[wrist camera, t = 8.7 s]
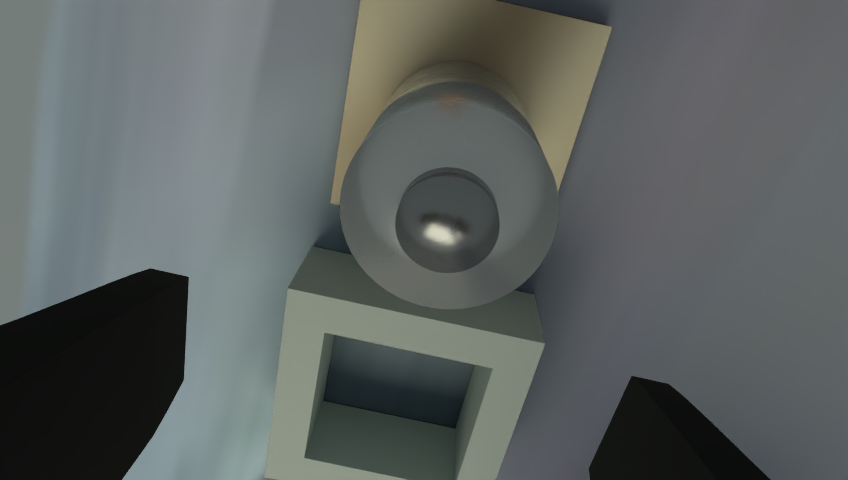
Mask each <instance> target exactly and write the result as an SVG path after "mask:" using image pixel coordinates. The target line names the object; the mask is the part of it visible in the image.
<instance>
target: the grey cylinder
mask: <svg viewBox="0 0 848 480" xmlns="http://www.w3.org/2000/svg"><path fill="white" fill-rule="evenodd" d="M339 204H340V219H341V225H342V230H343V233H344V236H345V239H346V242H347V244H348V246H349V249H350V251H351V253H352V255H353V256H354V258H355V259H356V261H357V262H358V264H359V265H360V266H361V268H362V269H363V270H364V271H365V272H366V274H367V275H368V276H369V277H371V278H372V279H373V280H374V281H375V282H376V283H377V284H378V285H380V286H381V287H383V288H384V289H385V290H387V291H388V292H390V293H392V294H393V295H395V296H397V297H399V298H401V299H404V300H406V301H408V302H411V303H414V304H417V305H421V306H425V307H431V308H436V309H464V308H470V307H476V306H479V305H483V304H486V303H490V302H492V301H494V300H497V299H499V298H501V297H503V296H505V295H507V294H509V293H510V292H512V291H514V290H515V289H516V288H518V287H519V286H520V285H522V284H523V283H524V282H525V281H526V280H527V279H528V278H529V277H530V276H531V275H533V273H534V272H535V271H536V270H537V269H538V267H539V266H540V265H541V264H542V262H543V260H544V259H545V257H546V255H547V254H548V252H549V250H550V247H551V245H552V243H553V241H554V237H555V234H556V230H557V226H558V219H559V197H558V190H557V185H556V182H555V179H554V175H553V172H552V170H551V168H550V166H549V164H548V161H547V159H546V157H545V155H544V153H543V150H542V148H541V146H540V144H539V142H538V139H537V137H536V135H535V133H534V131H533V128H532V126H531V124H530V122H529V120H528V117H527V115H526V113H525V111H524V109H523V106H522V104H521V102H520V100H519V98H518V96H517V94H516V93H515V91H514V90H513V88H512V87H511V86H510V85H509V84H508V83H507V81H505V80H504V79H503V78H502V77H501V76H500V75H498V74H497V73H495V72H494V71H492V70H491V69H489V68H487V67H485V66H482V65H480V64H476V63H473V62H468V61H462V60H449V61H441V62H437V63H433V64H430V65H428V66H425V67H423V68H421V69H419V70H417V71H416V72H414V73H413V74H412V75H410V76H409V77H407V78H406V79H405V80H404V81H403V82H402V83H401V84H400V85H399V87H398V88H397V89H396V91H395V92H394V93H393V95H392V97H391V98H390V100H389V101H388V103H387V104H386V106H385V108H384V109H383V111H382V112H381V114H380V115H379V117H378V119H377V120H376V122H375V123H374V125H373V126H372V128H371V129H370V131H369V133H368V134H367V136H366V137H365V139H364V140H363V142H362V144H361V145H360V147H359V148H358V150H357V151H356V153H355V155H354V157H353V158H352V160H351V162H350V163H349V166H348V168H347V171H346V173H345V176H344V179H343V183H342V187H341V193H340V203H339Z"/></svg>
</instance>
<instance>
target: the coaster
mask: <svg viewBox="0 0 848 480" xmlns="http://www.w3.org/2000/svg"><path fill="white" fill-rule="evenodd" d="M611 30H612V27H610V26H606V25H602V24H597V23H593V22H589V21H584V20H580V19H576V18H572V17H567V16H563V15H559V14H554V13H550V12H546V11H541V10H537V9H533V8H528V7H524V6H520V5H515V4H511V3H507V2H502V1H498V0H361V1H360V8H359V14H358V21H357V28H356V34H355V41H354V48H353V54H352V61H351V68H350V74H349V81H348V88H347V95H346V101H345V108H344V115H343V121H342V128H341V135H340V141H339V148H338V155H337V161H336V168H335V175H334V182H333V188H332V195H331V202H330V203H332V204H336V205H340V204H339V203H340V193H341V187H342V183H343V179H344V176H345V173H346V171H347V168H348V166H349V163H350V162H351V160H352V158H353V157H354V155H355V153H356V151H357V150H358V148H359V147H360V145H361V144H362V142H363V140H364V139H365V137H366V136H367V134H368V133H369V131H370V129H371V128H372V126H373V125H374V123H375V122H376V120H377V119H378V117H379V115H380V114H381V112H382V111H383V109H384V108H385V106H386V104H387V103H388V101H389V100H390V98H391V97H392V95H393V93H394V92H395V91H396V89H397V88H398V87H399V85H400V84H401V83H402V82H403V81H404V80H405V79H406V78H407V77H409V76H410V75H412V74H413V73H414V72H416V71H417V70H419V69H421V68H423V67H425V66H428V65H430V64H433V63H437V62H441V61H449V60H462V61H468V62H473V63H476V64H480V65H482V66H485V67H487V68H489V69H491V70H492V71H494V72H495V73H497V74H498V75H500V76H501V77H502V78H503V79H504V80H505V81H507V83H508V84H509V85H510V86H511V87H512V88H513V90H514V91H515V93H516V94H517V96H518V98H519V100H520V102H521V104H522V106H523V109H524V111H525V113H526V115H527V117H528V120H529V122H530V124H531V126H532V128H533V131H534V133H535V135H536V137H537V139H538V142H539V144H540V146H541V148H542V150H543V153H544V155H545V157H546V159H547V161H548V164H549V166H550V168H551V170H552V172H553V175H554V179H555V182H556V185H557V190H559V187H560V184H561V181H562V178H563V175H564V172H565V169H566V166H567V163H568V160H569V157H570V154H571V151H572V148H573V145H574V142H575V139H576V136H577V133H578V130H579V127H580V124H581V121H582V118H583V115H584V112H585V109H586V106H587V103H588V100H589V96H590V93H591V90H592V87H593V84H594V81H595V78H596V75H597V72H598V69H599V66H600V63H601V60H602V57H603V54H604V51H605V48H606V45H607V42H608V39H609V36H610V33H611Z"/></svg>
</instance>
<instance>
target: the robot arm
mask: <svg viewBox="0 0 848 480" xmlns="http://www.w3.org/2000/svg"><path fill="white" fill-rule="evenodd" d="M188 281H189V277H186V276H182V275H177V274H173V273H168V272H164V271H159V270H155V269H147V270H144V271H141V272H138V273H135V274H132V275H129V276H127V277H124V278H121V279H119V280H116V281H114V282H111V283H108V284H106V285H103V286H101V287H98V288H96V289H93V290H91V291H88V292H86V293H83V294H81V295H78V296H76V297H73V298H71V299H68V300H66V301H63V302H60V303H58V304H55V305H53V306H50V307H48V308H45V309H42V310H40V311H37V312H35V313H32V314H30V315H27V316H25V317H22V318H19V319H17V320H14V321H11V322H9V323H6V324H3V325H0V480H122V479H123V477H124V476H125V475H126V473H127V472H128V470H129V469H130V468H131V466H132V465H133V463H134V462H135V461H136V459H137V458H138V456H139V455H140V454H141V452H142V451H143V449H144V448H145V447H146V445H147V444H148V442H149V441H150V439H151V438H152V437H153V435H154V433H155V432H156V430H157V428H158V426H159V424H160V423H161V421H162V419H163V417H164V416H165V414H166V412H167V410H168V408H169V407H170V405H171V403H172V401H173V399H174V397H175V395H176V393H177V392H178V390H179V388H180V386H181V384H182V382H183V380H184V364H185V343H186V323H187V302H188ZM589 473H590V480H770V479H769V478H768V477H767V476H766V475H765V474H764V473H763V472H762V471H761V470H760V469H759V468H758V467H757V466H756V465H755V464H754V463H753V462H752V461H750V460H749V459H748V458H747V457H746V456H745V455H744V454H743V453H742V452H741V451H740V450H739V449H738V448H737V447H736V446H735V445H734V444H733V443H732V442H731V441H730V440H729V439H728V438H727V437H726V436H725V435H724V434H723V433H722V432H721V431H720V430H719V429H718V428H717V427H715V426H714V425H713V424H712V423H711V422H710V421H709V420H708V419H707V418H706V417H705V416H704V415H703V414H702V413H701V412H700V411H699V410H698V409H697V408H696V407H695V406H693V405H692V404H691V403H690V402H689V401H688V400H687V399H686V398H685V397H683V396H682V395H681V394H680V393H679V392H678V391H676V390H675V389H674V388H673V387H672V386H670V385H669V384H666V383H661V382H657V381H652V380H648V379H644V378H639V377H635V376H632V377H631V379H630V381H629V383H628V385H627V387H626V390H625V392H624V394H623V396H622V398H621V400H620V403H619V405H618V407H617V409H616V411H615V413H614V415H613V418H612V420H611V422H610V424H609V426H608V428H607V431H606V433H605V435H604V437H603V439H602V441H601V443H600V446H599V448H598V450H597V452H596V454H595V456H594V459H593V461H592V463H591V465H590V467H589Z"/></svg>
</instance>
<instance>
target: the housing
mask: <svg viewBox="0 0 848 480" xmlns="http://www.w3.org/2000/svg"><path fill="white" fill-rule="evenodd" d="M335 335H338V336H343V337H348V338H352V339H357V340H362V341H366V342H371V343H376V344H380V345H385V346H390V347H394V348H399V349H404V350H408V351H413V352H418V353H422V354H427V355H432V356H437V357H441V358H446V359H451V360H455V361H460V362H465V363H469V364H474V365H475V366H474V369H473V372H472V376H471V379H470V382H469V386H468V389H467V392H466V395H465V399H464V402H463V405H462V408H461V412H460V415H459V418H458V422H457V425H456V428H450V427H445V426H441V425H436V424H431V423H426V422H421V421H417V420H412V419H407V418H402V417H398V416H393V415H388V414H383V413H379V412H374V411H369V410H364V409H360V408H355V407H350V406H345V405H341V404H336V403H331V402H326V401H324V395H325V389H326V383H327V377H328V371H329V366H330V360H331V354H332V348H333V342H334V336H335ZM544 346H545V340H544V335H543V331H542V326H541V322H540V317H539V313H538V308H537V304H536V299H535V295H534V294H530V293H525V292H520V291H516V290H514V291H512V292H510V293H509V294H507V295H505V296H503V297H501V298H499V299H497V300H494V301H492V302H490V303H486V304H483V305H479V306H476V307H470V308H464V309H436V308H431V307H425V306H421V305H417V304H414V303H411V302H408V301H406V300H404V299H401V298H399V297H397V296H395V295H393V294H392V293H390V292H388V291H387V290H385V289H384V288H383V287H381V286H380V285H378V284H377V283H376V282H375V281H374V280H373V279H372V278H371V277H369V276H368V275H367V274H366V272H365V271H364V270H363V269H362V268H361V266H360V265H359V264H358V262H357V261H356V259H355V258H354V256H353V255H350V254H346V253H341V252H337V251H332V250H327V249H323V248H318V247H314V246H312V247H311V249H310V251H309V252H308V254H307V256H306V258H305V259H304V261H303V263H302V265H301V266H300V268H299V270H298V272H297V273H296V275H295V277H294V278H293V280H292V282H291V284H290V285H289V287H288V291H287V299H286V307H285V315H284V323H283V331H282V339H281V348H280V356H279V364H278V372H277V380H276V388H275V396H274V404H273V412H272V420H271V428H270V436H269V444H268V453H267V461H266V469H265V477H267V478H272V479H277V480H496V478H497V475H498V473H499V470H500V467H501V464H502V462H503V459H504V456H505V453H506V451H507V448H508V445H509V442H510V440H511V437H512V434H513V431H514V429H515V426H516V423H517V420H518V418H519V415H520V412H521V409H522V407H523V404H524V401H525V398H526V396H527V393H528V390H529V387H530V385H531V382H532V379H533V376H534V374H535V371H536V368H537V365H538V363H539V360H540V357H541V354H542V352H543V349H544Z"/></svg>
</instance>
